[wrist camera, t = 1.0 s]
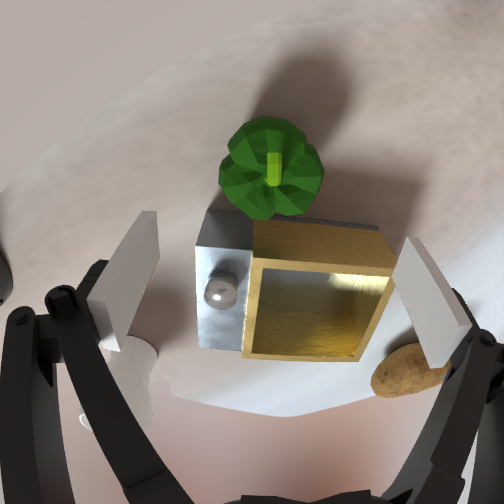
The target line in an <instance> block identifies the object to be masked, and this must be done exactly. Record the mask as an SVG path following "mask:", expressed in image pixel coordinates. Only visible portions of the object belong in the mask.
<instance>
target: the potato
mask: <svg viewBox="0 0 504 504" xmlns="http://www.w3.org/2000/svg"><path fill="white" fill-rule="evenodd" d="M451 365H452V364H451V361H450V359H449V360H448V361H447V363H446V364H445V365H444V367H443V368H432V369H430V368H429V365H428V362H427V359H426V357H425V354H424V352H423V349H422V346H421V344H420V343H412V344H408V345H404V346H402V347H400V348H398V349H397V350H395V351H394V352H393V353H391V354H390V355H389V356H387V357H386V358H385V359H384V360H383V361H382V362H381V363H380V364H379V365H378V367H377V368H376V370H375V372H374V373H373V375H372V377H371V387H372V389H373V391H374V393H375V394H376V395H377V396H380V397H385V398H393V397H398V396H403V395H408V394H413V393H417V392H420V391H423V390H425V389H428V388H431V387H434V386H437V385H439V384H441V383H443V382H444V379H445V378H444V379H443V380H442V381H441V378H442V377H443V376H444V374H445V373H446V372H447V371H448V369H449V368H450V367H451Z"/></svg>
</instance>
